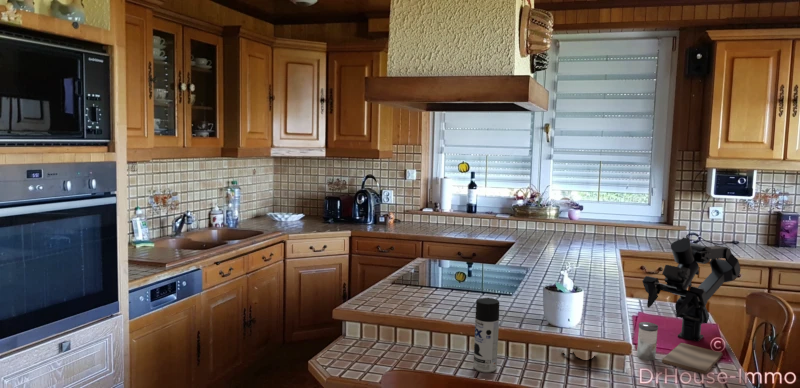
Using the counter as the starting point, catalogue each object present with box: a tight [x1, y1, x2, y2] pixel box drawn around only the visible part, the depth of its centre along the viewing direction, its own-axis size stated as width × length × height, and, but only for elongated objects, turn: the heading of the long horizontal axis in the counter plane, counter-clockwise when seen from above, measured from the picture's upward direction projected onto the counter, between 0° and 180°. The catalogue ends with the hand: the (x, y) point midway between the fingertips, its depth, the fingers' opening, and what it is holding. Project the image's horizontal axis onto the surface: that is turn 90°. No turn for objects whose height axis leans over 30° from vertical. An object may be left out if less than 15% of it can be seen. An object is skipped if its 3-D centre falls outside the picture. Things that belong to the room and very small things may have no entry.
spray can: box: [472, 297, 500, 374], centre depth 173 cm, size 7×7×20 cm
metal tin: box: [636, 321, 659, 361], centre depth 184 cm, size 5×5×10 cm
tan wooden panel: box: [661, 342, 723, 375], centre depth 184 cm, size 18×12×1 cm, turn 139°
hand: (662, 310), depth 186 cm, fingers open, 9 cm apart
